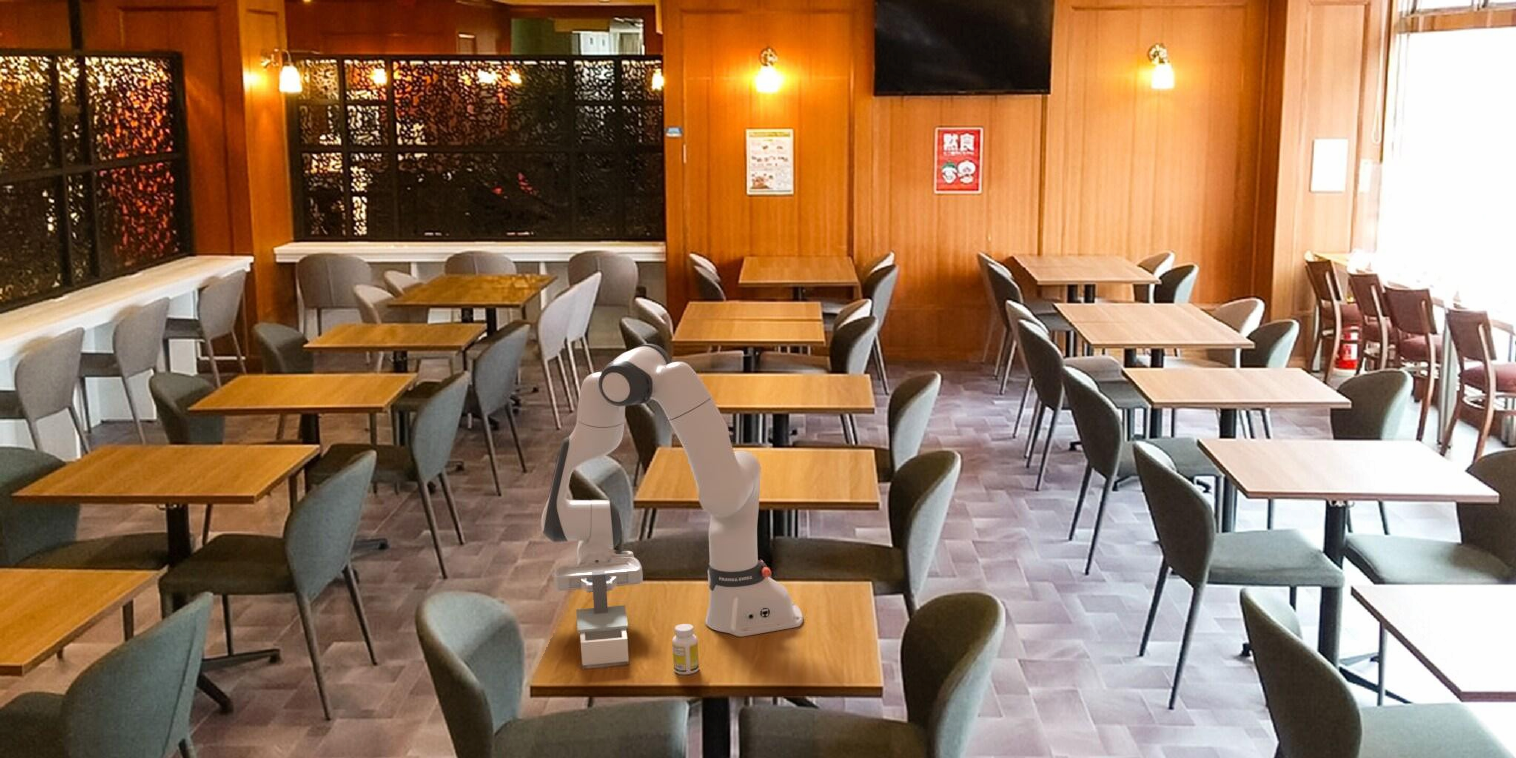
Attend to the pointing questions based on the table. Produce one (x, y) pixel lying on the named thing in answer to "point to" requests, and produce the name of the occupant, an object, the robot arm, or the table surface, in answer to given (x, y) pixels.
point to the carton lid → (601, 609)
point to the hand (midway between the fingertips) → (599, 588)
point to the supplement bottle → (685, 650)
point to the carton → (604, 648)
